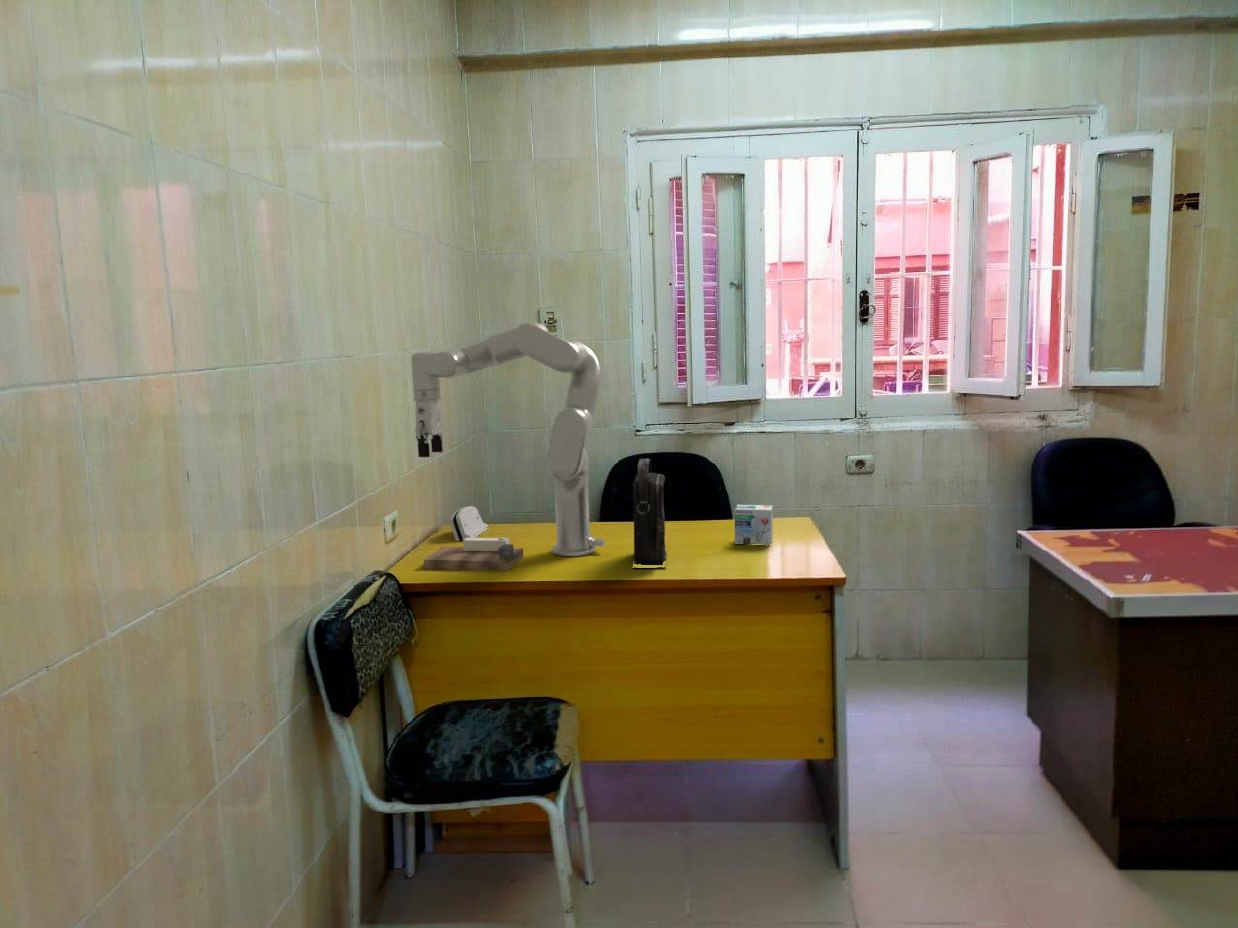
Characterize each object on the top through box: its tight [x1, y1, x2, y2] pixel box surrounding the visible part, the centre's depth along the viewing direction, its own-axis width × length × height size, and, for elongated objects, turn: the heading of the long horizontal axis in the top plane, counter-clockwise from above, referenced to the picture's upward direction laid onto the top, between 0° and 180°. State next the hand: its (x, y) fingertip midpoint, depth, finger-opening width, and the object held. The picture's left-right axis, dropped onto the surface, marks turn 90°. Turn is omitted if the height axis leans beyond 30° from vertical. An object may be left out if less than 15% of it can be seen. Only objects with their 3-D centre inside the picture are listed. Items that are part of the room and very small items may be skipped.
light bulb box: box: [734, 504, 774, 545], centre depth 255 cm, size 11×7×11 cm, turn 76°
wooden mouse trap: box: [423, 543, 524, 571], centre depth 242 cm, size 24×14×6 cm, turn 80°
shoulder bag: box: [632, 457, 668, 565], centre depth 240 cm, size 23×9×28 cm, turn 176°
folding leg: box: [462, 536, 510, 551], centre depth 246 cm, size 12×3×3 cm, turn 80°
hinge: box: [449, 505, 490, 542], centre depth 276 cm, size 17×5×10 cm, turn 169°
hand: (430, 454), depth 254 cm, fingers open, 9 cm apart
